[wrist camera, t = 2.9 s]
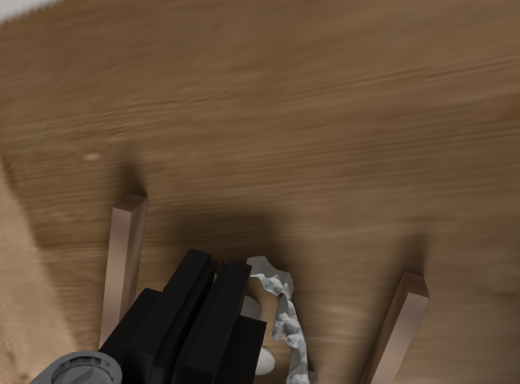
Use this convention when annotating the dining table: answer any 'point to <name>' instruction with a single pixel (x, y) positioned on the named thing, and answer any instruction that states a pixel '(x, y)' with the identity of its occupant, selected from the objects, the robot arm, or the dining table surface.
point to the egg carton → (279, 322)
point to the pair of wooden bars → (126, 273)
